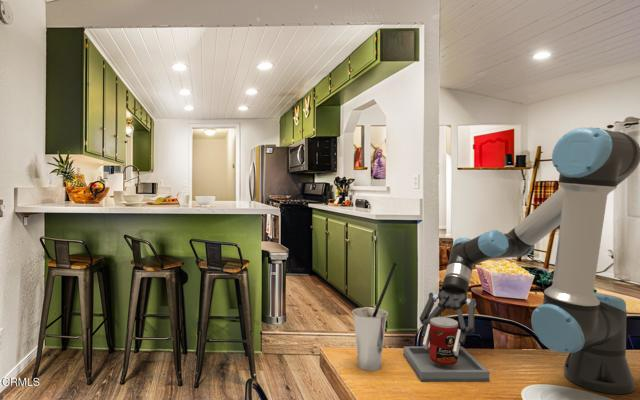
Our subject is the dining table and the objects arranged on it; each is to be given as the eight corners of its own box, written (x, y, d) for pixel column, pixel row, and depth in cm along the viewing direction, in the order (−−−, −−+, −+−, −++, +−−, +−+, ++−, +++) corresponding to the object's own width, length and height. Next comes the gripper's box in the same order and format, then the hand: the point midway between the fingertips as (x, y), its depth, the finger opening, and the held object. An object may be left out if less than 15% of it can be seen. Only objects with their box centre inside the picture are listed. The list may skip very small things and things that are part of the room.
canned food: (437, 366, 108) (437, 326, 108) (424, 355, 116) (425, 317, 116) (463, 365, 109) (463, 325, 109) (449, 353, 117) (449, 316, 117)
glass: (395, 375, 107) (396, 263, 107) (353, 375, 107) (354, 263, 107) (388, 359, 118) (389, 257, 118) (350, 358, 117) (351, 257, 117)
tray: (461, 354, 122) (461, 346, 122) (489, 381, 104) (489, 371, 104) (403, 354, 121) (403, 346, 121) (421, 381, 103) (421, 372, 103)
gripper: (493, 293, 120) (481, 365, 106) (426, 284, 131) (407, 348, 118) (490, 278, 115) (477, 351, 102) (421, 270, 127) (401, 335, 113)
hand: (440, 350), depth 110 cm, fingers closed on canned food, 8 cm apart
